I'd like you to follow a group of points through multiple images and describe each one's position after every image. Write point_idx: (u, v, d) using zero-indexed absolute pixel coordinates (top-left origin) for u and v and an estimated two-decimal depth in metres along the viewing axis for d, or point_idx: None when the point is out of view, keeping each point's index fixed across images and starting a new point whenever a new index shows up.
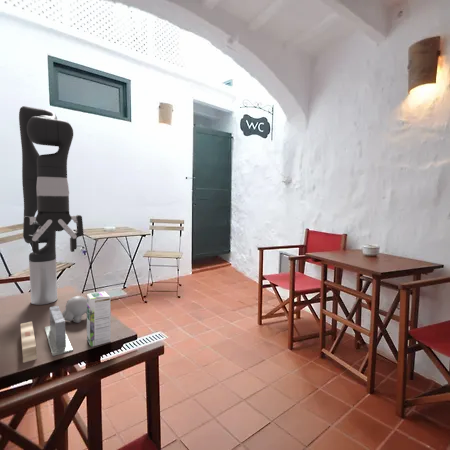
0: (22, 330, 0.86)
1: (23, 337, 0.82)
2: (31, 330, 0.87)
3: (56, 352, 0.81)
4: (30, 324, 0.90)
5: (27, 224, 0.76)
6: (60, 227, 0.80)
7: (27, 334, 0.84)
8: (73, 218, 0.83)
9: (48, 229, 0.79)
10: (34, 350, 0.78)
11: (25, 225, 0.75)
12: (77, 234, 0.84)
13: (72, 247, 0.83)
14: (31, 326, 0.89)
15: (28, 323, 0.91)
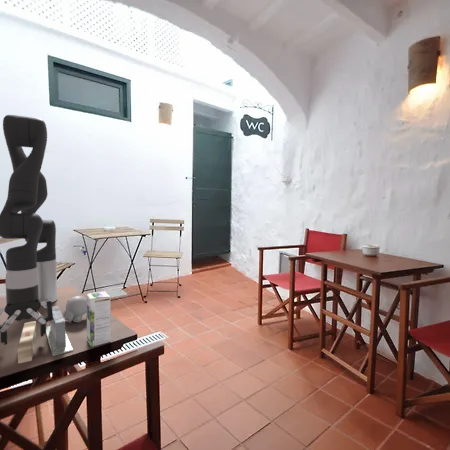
0: (24, 330, 0.87)
1: (22, 337, 0.82)
2: (32, 330, 0.87)
3: (56, 352, 0.81)
4: (33, 324, 0.91)
5: None
6: (29, 315, 0.83)
7: (27, 334, 0.84)
8: (43, 304, 0.85)
9: (17, 318, 0.81)
10: (29, 351, 0.77)
11: None
12: (46, 319, 0.86)
13: (41, 332, 0.85)
14: (33, 326, 0.89)
15: (32, 322, 0.92)
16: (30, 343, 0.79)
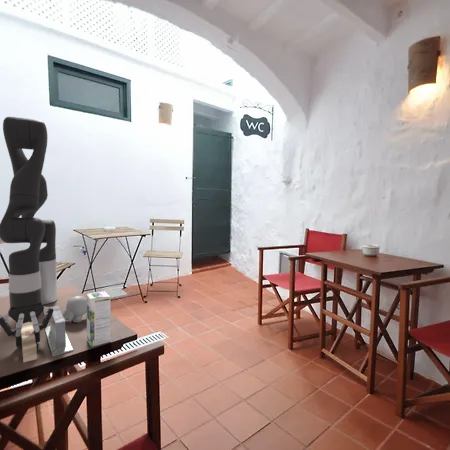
0: (22, 329, 0.86)
1: (23, 336, 0.82)
2: (31, 329, 0.87)
3: (56, 352, 0.81)
4: (30, 323, 0.90)
5: (4, 324, 0.80)
6: (29, 318, 0.83)
7: (27, 333, 0.84)
8: (45, 309, 0.86)
9: None
10: (34, 349, 0.78)
11: (2, 326, 0.80)
12: (40, 327, 0.86)
13: None
14: (31, 325, 0.89)
15: (28, 322, 0.91)
16: (34, 341, 0.80)
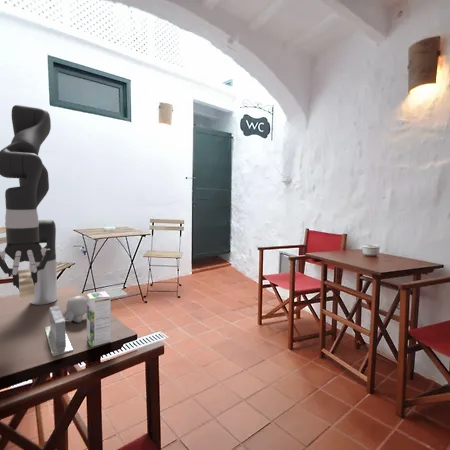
0: (19, 274, 0.85)
1: (20, 279, 0.81)
2: (29, 274, 0.85)
3: (56, 352, 0.81)
4: (27, 271, 0.89)
5: (0, 260, 0.78)
6: (26, 257, 0.82)
7: (24, 277, 0.82)
8: (42, 250, 0.84)
9: None
10: (32, 289, 0.76)
11: None
12: (38, 268, 0.84)
13: None
14: (28, 272, 0.87)
15: (25, 270, 0.90)
16: (31, 282, 0.78)
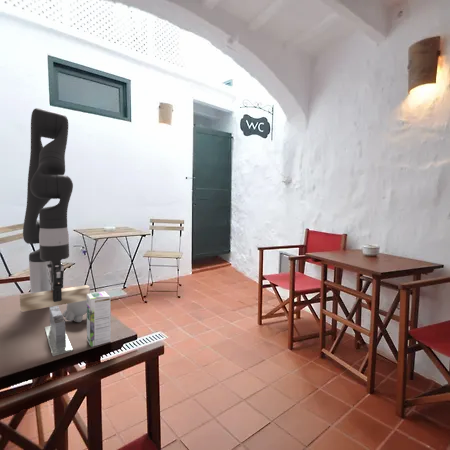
0: (68, 288, 0.91)
1: (49, 291, 0.88)
2: (64, 290, 0.88)
3: (56, 352, 0.81)
4: (81, 288, 0.91)
5: None
6: None
7: None
8: (55, 270, 0.83)
9: None
10: (20, 301, 0.82)
11: None
12: None
13: None
14: (75, 289, 0.90)
15: (86, 286, 0.92)
16: (30, 296, 0.83)
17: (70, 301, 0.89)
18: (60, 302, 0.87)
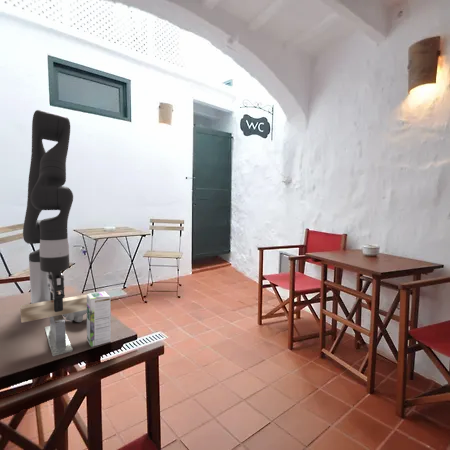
0: (68, 297, 0.91)
1: (49, 301, 0.88)
2: (64, 300, 0.88)
3: (56, 352, 0.81)
4: (81, 297, 0.91)
5: (48, 275, 0.92)
6: None
7: None
8: None
9: None
10: None
11: None
12: None
13: None
14: (75, 299, 0.90)
15: (86, 296, 0.93)
16: (30, 306, 0.83)
17: (70, 311, 0.89)
18: (60, 312, 0.88)
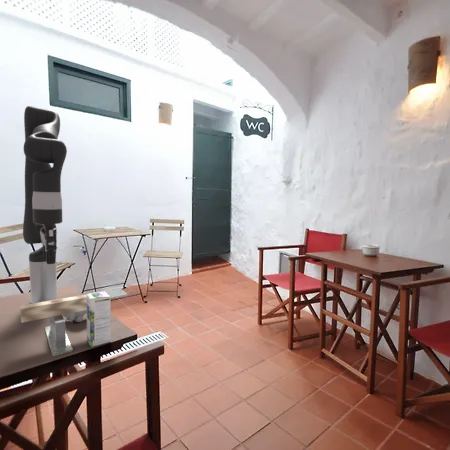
0: (68, 297, 0.91)
1: (49, 301, 0.88)
2: (64, 300, 0.88)
3: (56, 352, 0.81)
4: (81, 297, 0.91)
5: None
6: None
7: (54, 301, 0.88)
8: None
9: None
10: None
11: None
12: None
13: None
14: (75, 299, 0.90)
15: (86, 296, 0.93)
16: (30, 306, 0.83)
17: (70, 311, 0.89)
18: (60, 312, 0.88)
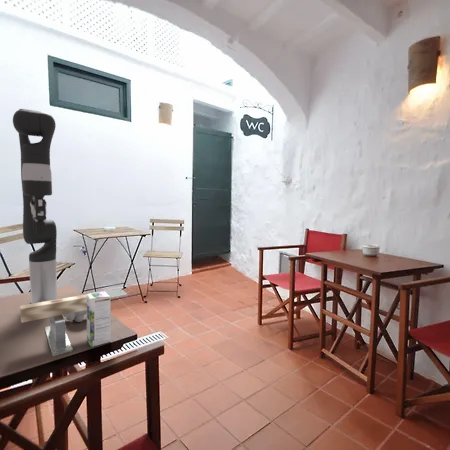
0: (68, 297, 0.91)
1: (49, 301, 0.88)
2: (64, 300, 0.88)
3: (56, 352, 0.81)
4: (81, 297, 0.91)
5: None
6: None
7: (54, 301, 0.88)
8: None
9: None
10: None
11: None
12: None
13: None
14: (75, 299, 0.90)
15: (86, 296, 0.93)
16: (30, 306, 0.83)
17: (70, 311, 0.89)
18: (60, 312, 0.88)
